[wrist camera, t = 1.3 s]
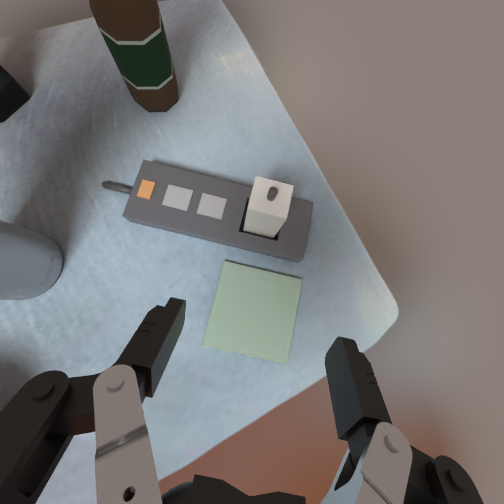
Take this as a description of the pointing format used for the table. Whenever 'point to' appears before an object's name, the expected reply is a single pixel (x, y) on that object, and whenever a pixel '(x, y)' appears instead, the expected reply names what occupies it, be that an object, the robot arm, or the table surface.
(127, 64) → the beer bottle
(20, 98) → the portable radio
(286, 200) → the block
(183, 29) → the table surface
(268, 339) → the mat
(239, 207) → the power strip
